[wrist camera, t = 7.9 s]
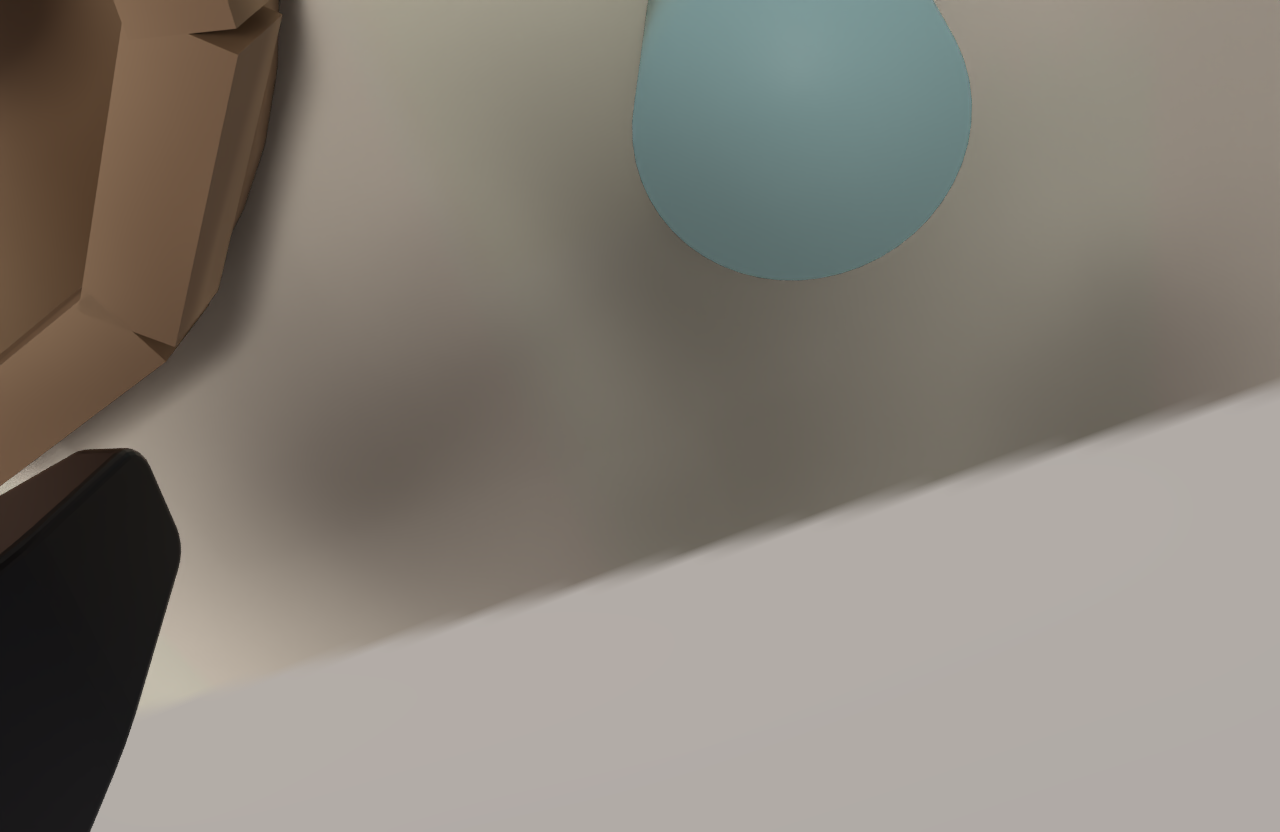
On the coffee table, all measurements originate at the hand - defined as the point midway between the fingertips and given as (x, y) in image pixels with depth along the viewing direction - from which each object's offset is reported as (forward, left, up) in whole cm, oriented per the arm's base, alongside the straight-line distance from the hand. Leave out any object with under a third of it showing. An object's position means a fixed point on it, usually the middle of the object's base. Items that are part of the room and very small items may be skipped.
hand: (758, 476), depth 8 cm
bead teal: (0, 0, -11) cm, 11 cm away
